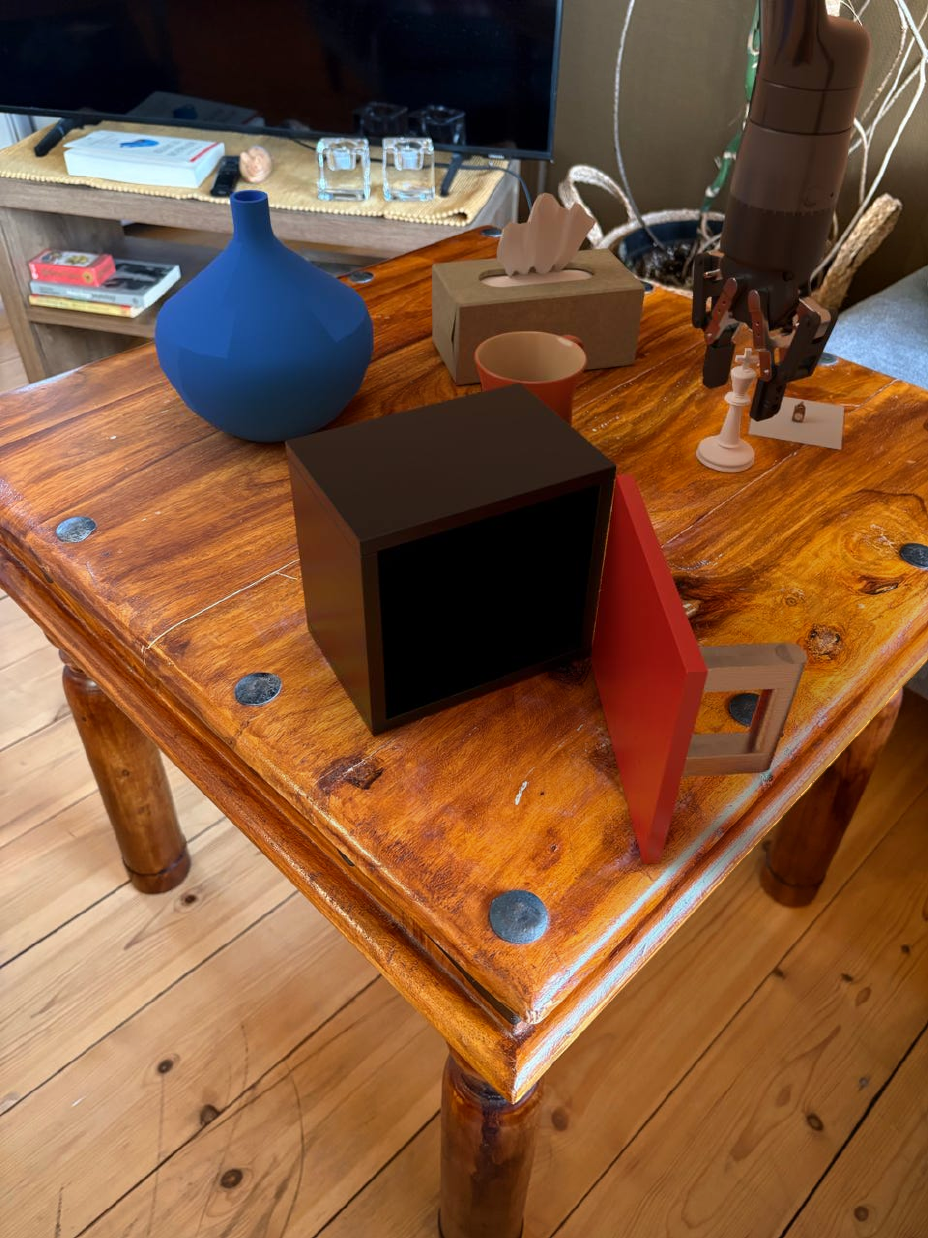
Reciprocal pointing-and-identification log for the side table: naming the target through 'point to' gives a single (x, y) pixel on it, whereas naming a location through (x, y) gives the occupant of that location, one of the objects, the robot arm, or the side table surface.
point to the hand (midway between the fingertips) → (737, 400)
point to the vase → (264, 336)
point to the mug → (534, 366)
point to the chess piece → (732, 424)
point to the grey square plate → (803, 423)
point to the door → (673, 679)
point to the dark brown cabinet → (449, 549)
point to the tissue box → (538, 293)
